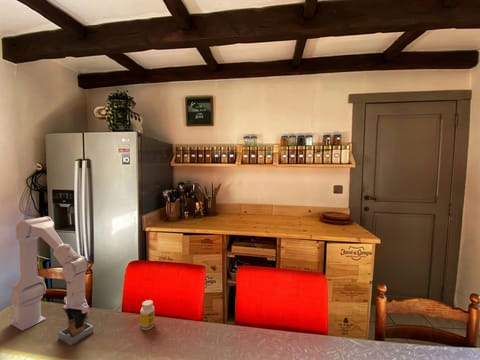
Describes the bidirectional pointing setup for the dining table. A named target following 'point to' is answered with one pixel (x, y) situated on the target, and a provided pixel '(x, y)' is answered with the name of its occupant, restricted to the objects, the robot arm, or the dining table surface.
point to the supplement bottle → (147, 315)
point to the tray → (72, 340)
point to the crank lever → (87, 316)
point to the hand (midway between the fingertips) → (76, 325)
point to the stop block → (74, 328)
